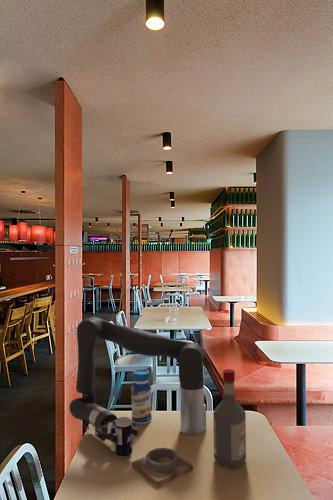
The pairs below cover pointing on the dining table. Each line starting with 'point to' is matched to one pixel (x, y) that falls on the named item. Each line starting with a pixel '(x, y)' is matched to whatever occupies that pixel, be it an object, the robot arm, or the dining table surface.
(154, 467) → the collar
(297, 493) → the dining table surface
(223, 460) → the liquor
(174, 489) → the dining table surface
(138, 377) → the beverage bottle
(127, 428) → the beverage can
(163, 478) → the base plate
